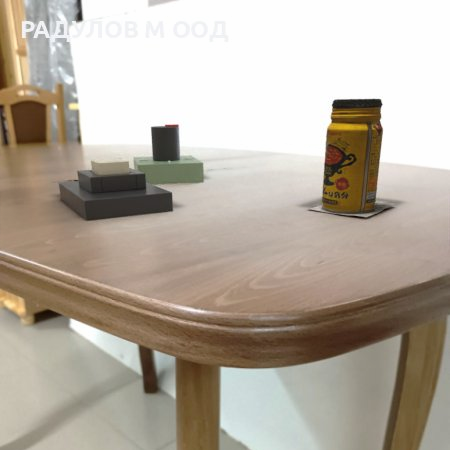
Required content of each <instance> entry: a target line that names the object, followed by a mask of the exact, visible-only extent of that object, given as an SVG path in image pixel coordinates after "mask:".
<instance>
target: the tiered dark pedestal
mask: <svg viewBox="0 0 450 450" xmlns="http://www.w3.org/2000/svg"><path fill="white" fill-rule="evenodd" d="M129 171H130V173H124V174H110V175H99V176H98V175H96V174H94V173H92V169H82V170H77V172H76V173H77V180H74V181H62V182H58V189H59V197H60V200H61V201H62V202H63V203H64V204H66V205H67V206H68V207H69V208H71V210H73V211H74V212H75V213H76V214H78V215H79V216H80V217H82V218H83V219H84V220H85V221H86V222H88V221H89V222H91V221H97V220H98V221H99V220H106V219H107V220H108V219H115V218H116V219H117V218H124V217H125V218H126V217H133V216H141V215H142V216H144V215H150V214H151V215H152V214H161V213H169V212H173V211H174V207H173V206H174V205H173V192H172V191H170V190H167V189H164V188H162V187H160V186H157V185H156V184H150V183H147V182H146V176H145V173H142V172H140V171H137V170H134V168H131V167H129Z"/></svg>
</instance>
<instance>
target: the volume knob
mask: <svg viewBox="0 0 450 450" xmlns="http://www.w3.org/2000/svg"><path fill="white" fill-rule="evenodd" d="M150 134H151V135H150V136H151V150H152V151H151V152H152V153H151V154H152V157H153V160H155V161H175V160H180V156H181V147H180V145H181V144H180V143H181V141H180V125H179V124H178V123H177V124H175V123H173V124H164V125H155V126H150Z"/></svg>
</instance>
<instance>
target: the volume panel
mask: <svg viewBox="0 0 450 450" xmlns="http://www.w3.org/2000/svg"><path fill="white" fill-rule="evenodd" d="M132 158H133V169H134V170H137V171H140V172H142V173H145V176H146V182H147V183H150V184H152V185H172V184H196V183H198V184H199V183H204V182H205V179H204V176H205V175H204V162H203V161H201V160H199V159H198V158H196V157H195V156H193V155H192V154H191V155H180V160H175V161H155V160H153V156H133V157H132Z"/></svg>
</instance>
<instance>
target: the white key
mask: <svg viewBox="0 0 450 450" xmlns="http://www.w3.org/2000/svg"><path fill="white" fill-rule="evenodd" d="M90 165H91V170H92V173H94V174H96V175H98V176H99V175H110V174H124V173H130V171H129V168H130V161H129V160H127V159H124V158H120V157H119V158H118V157H117V158H101V159H100V158H99V159H98V158H97V159H91V160H90Z"/></svg>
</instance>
